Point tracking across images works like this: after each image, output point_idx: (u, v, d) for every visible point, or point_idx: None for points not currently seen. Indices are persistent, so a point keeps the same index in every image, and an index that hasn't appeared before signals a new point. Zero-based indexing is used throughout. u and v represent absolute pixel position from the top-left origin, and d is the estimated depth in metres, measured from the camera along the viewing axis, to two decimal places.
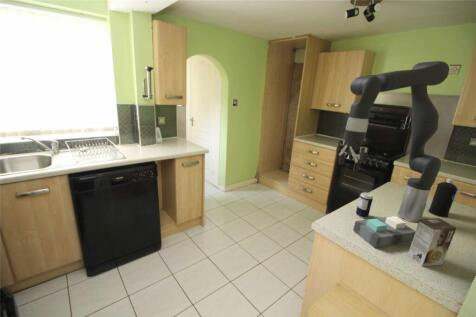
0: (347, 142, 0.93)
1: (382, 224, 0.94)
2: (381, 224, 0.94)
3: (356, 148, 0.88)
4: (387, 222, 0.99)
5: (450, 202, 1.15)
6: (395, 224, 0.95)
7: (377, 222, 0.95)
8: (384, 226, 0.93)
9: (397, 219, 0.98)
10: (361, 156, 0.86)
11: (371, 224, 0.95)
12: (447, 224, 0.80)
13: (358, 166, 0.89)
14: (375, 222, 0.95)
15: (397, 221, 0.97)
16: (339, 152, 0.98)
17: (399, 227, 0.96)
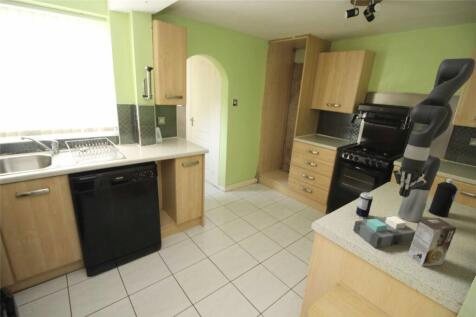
0: (404, 169, 0.92)
1: (382, 224, 0.94)
2: (381, 224, 0.94)
3: (414, 179, 0.89)
4: (387, 222, 0.99)
5: (450, 202, 1.15)
6: (395, 224, 0.95)
7: (377, 222, 0.95)
8: (384, 226, 0.93)
9: (397, 219, 0.98)
10: (415, 186, 0.88)
11: (371, 224, 0.95)
12: (447, 224, 0.80)
13: (408, 192, 0.92)
14: (375, 222, 0.95)
15: (397, 221, 0.97)
16: (400, 182, 0.95)
17: (399, 227, 0.96)
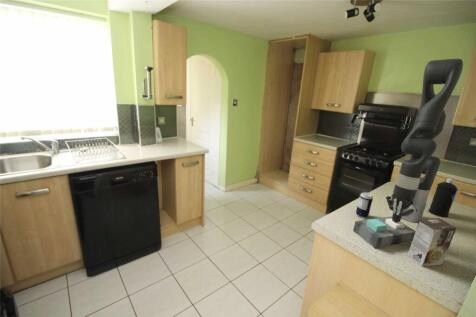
0: (396, 195, 0.96)
1: (382, 224, 0.94)
2: (381, 224, 0.94)
3: (405, 207, 0.92)
4: None
5: (450, 202, 1.15)
6: (395, 226, 0.96)
7: (377, 222, 0.95)
8: (384, 226, 0.93)
9: None
10: (405, 213, 0.92)
11: (371, 224, 0.95)
12: (447, 224, 0.80)
13: (399, 218, 0.96)
14: (375, 222, 0.95)
15: (396, 223, 0.97)
16: (393, 208, 0.98)
17: None
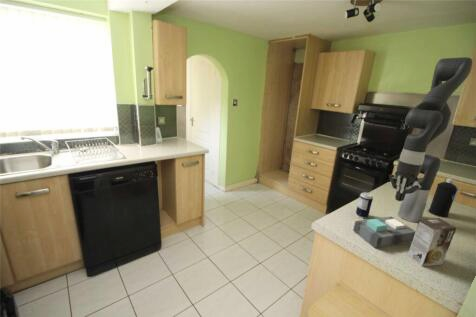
0: (400, 173, 0.92)
1: (382, 224, 0.94)
2: (381, 224, 0.94)
3: (409, 183, 0.89)
4: None
5: (450, 202, 1.15)
6: (395, 227, 0.96)
7: (377, 222, 0.95)
8: (384, 226, 0.93)
9: (396, 222, 0.98)
10: (410, 190, 0.88)
11: (371, 224, 0.95)
12: (447, 224, 0.80)
13: (403, 196, 0.92)
14: (375, 222, 0.95)
15: (396, 223, 0.97)
16: (396, 186, 0.94)
17: None
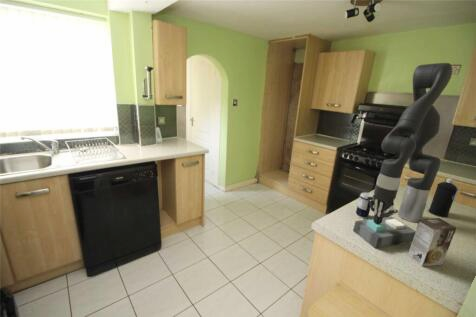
0: (377, 196, 0.93)
1: (382, 224, 0.94)
2: (381, 224, 0.94)
3: (386, 208, 0.89)
4: None
5: (450, 202, 1.15)
6: (395, 227, 0.96)
7: None
8: (384, 226, 0.93)
9: (396, 222, 0.98)
10: (386, 214, 0.89)
11: (371, 224, 0.95)
12: (447, 224, 0.80)
13: (380, 220, 0.93)
14: None
15: (396, 223, 0.97)
16: (374, 209, 0.95)
17: None
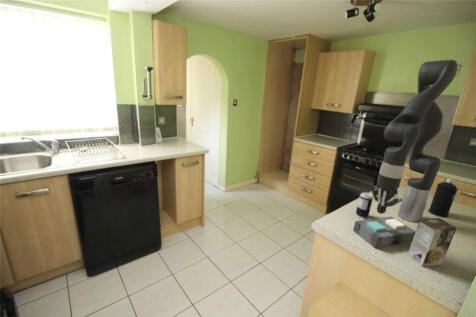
0: (380, 185, 0.91)
1: (381, 226, 0.94)
2: (380, 227, 0.94)
3: (389, 196, 0.88)
4: None
5: (450, 202, 1.15)
6: (395, 227, 0.96)
7: (376, 225, 0.95)
8: (383, 229, 0.94)
9: (396, 222, 0.98)
10: (390, 204, 0.88)
11: (370, 227, 0.95)
12: (447, 224, 0.80)
13: (384, 209, 0.91)
14: (375, 224, 0.96)
15: (396, 223, 0.97)
16: (377, 198, 0.93)
17: None
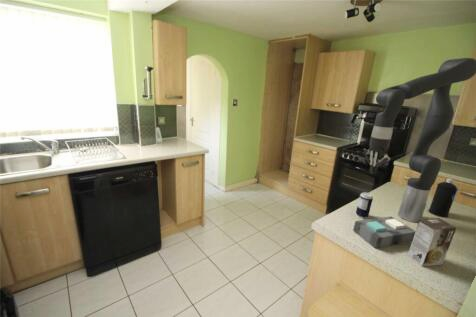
0: (372, 148, 1.02)
1: (381, 226, 0.94)
2: (380, 227, 0.94)
3: (380, 157, 0.98)
4: None
5: (450, 202, 1.15)
6: (395, 227, 0.96)
7: (376, 225, 0.95)
8: (383, 229, 0.94)
9: (396, 222, 0.98)
10: (381, 163, 0.98)
11: (370, 227, 0.95)
12: (447, 224, 0.80)
13: (376, 169, 1.02)
14: (375, 224, 0.96)
15: (396, 223, 0.97)
16: None
17: None
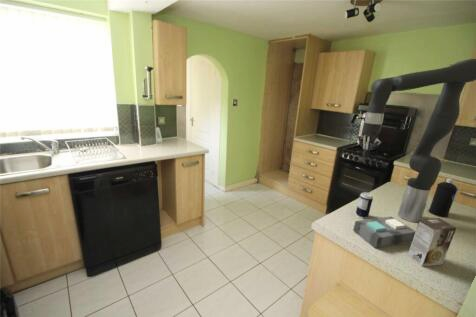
0: (365, 133, 1.12)
1: (381, 226, 0.94)
2: (380, 227, 0.94)
3: (372, 140, 1.08)
4: None
5: (450, 202, 1.15)
6: (395, 227, 0.96)
7: (376, 225, 0.95)
8: (383, 229, 0.94)
9: (396, 222, 0.98)
10: (372, 146, 1.08)
11: (370, 227, 0.95)
12: (447, 224, 0.80)
13: (368, 152, 1.12)
14: (375, 224, 0.96)
15: (396, 223, 0.97)
16: None
17: None
